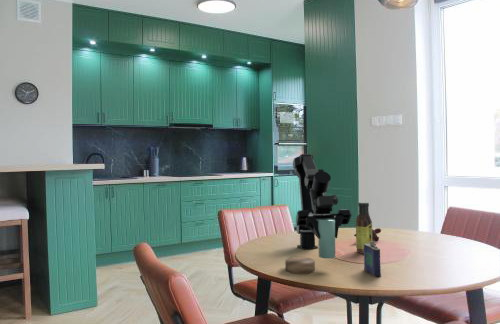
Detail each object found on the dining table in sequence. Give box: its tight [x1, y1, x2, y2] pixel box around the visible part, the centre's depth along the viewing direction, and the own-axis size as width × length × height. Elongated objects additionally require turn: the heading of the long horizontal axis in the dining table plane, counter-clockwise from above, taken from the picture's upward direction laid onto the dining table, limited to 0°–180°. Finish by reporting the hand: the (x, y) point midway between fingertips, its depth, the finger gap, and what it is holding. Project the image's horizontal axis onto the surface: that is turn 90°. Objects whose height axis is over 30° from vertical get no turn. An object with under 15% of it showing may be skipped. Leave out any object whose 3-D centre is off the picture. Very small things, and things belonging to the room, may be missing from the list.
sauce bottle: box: [355, 201, 373, 254], centre depth 159 cm, size 7×6×20 cm
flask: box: [363, 240, 382, 278], centre depth 131 cm, size 9×3×11 cm, turn 8°
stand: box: [284, 256, 316, 275], centre depth 136 cm, size 10×10×3 cm
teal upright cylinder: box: [318, 218, 336, 259], centre depth 136 cm, size 6×6×12 cm
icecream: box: [353, 227, 382, 241], centre depth 177 cm, size 7×7×15 cm
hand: (327, 237), depth 134 cm, fingers closed on teal upright cylinder, 6 cm apart
